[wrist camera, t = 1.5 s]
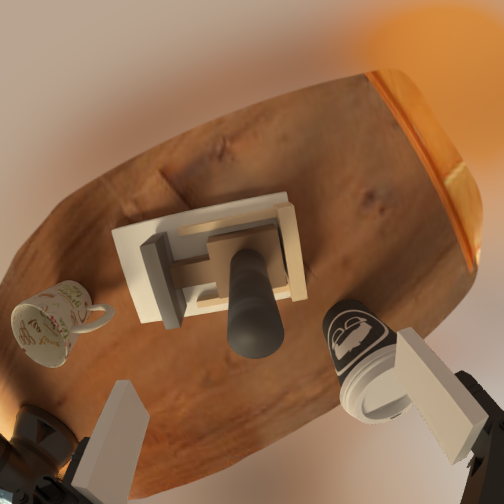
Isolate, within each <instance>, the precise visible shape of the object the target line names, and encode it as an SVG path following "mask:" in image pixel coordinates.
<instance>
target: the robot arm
mask: <svg viewBox="0 0 504 504" xmlns="http://www.w3.org/2000/svg"><path fill="white" fill-rule="evenodd" d="M394 374H395V376H396V377H397V379H398V380H399V382H400V383H401V385H402V386H403V388H404V390H405V391H406V393H407V394H408V396H409V397H410V399H411V400H412V402H413V403H414V405H415V407H416V408H417V410H418V411H419V413H420V414H421V416H422V418H423V419H424V421H425V422H426V424H427V425H428V427H429V429H430V430H431V432H432V434H433V435H434V437H435V438H436V440H437V442H438V443H439V445H440V447H441V448H442V450H443V452H444V453H445V455H446V457H447V458H448V460H449V462H450V463H451V465H453V464H455V463H457V462H459V461H461V460H462V459H464V458H466V457H467V455H468V454H469V452H470V450H472V452H473V453H474V456H473V457H472V459H471V460H470V462H469V463H468V466H467V468H469V467H470V465H471V467H470V471H469V475H468V479H467V483H466V486H465V490H464V493H463V496H462V500H461V503H460V504H504V411H503V410H502V409H501V408H500V407H499V406H498V405H497V404H496V402H495V401H494V400H493V399H492V398H491V397H490V396H489V394H488V393H487V392H486V391H485V390H483V388H482V386H481V385H480V384H478V382H477V381H476V380H475V379H474V378H473V377H472V376H471V375H470V374H468V373H466V372H464V371H462V370H461V371H459V372H457V373H455V374H453V373H452V371H451V370H450V369H449V368H448V367H447V366H446V365H445V364H444V362H443V361H442V360H441V359H440V358H439V357H438V356H437V355H436V354H435V352H434V351H433V350H432V349H431V348H430V347H429V346H428V345H427V344H426V343H425V341H424V340H423V339H422V338H421V337H420V336H419V335H418V334H417V333H416V332H415V331H414V330H413V329H412V328H411V327H409V328H406V329H403V330H400V331H398V332H397V346H396V357H395V366H394ZM149 419H150V416H149V414H148V412H147V411H146V409H145V407H144V405H143V404H142V402H141V400H140V398H139V396H138V395H137V393H136V391H135V389H134V387H133V385H132V383H131V382H130V380H117V381H116V383H115V385H114V387H113V389H112V391H111V393H110V396H109V398H108V400H107V402H106V404H105V406H104V408H103V411H102V413H101V415H100V417H99V419H98V422H97V424H96V426H95V428H94V431H93V433H92V435H91V437H84V438H83V439H82V440H81V442H80V443H79V444H78V442H77V440H76V438H75V436H74V435H73V434H72V433H71V431H70V430H69V429H68V428H67V427H66V426H65V425H64V424H62V423H61V422H60V421H59V420H58V419H56V418H55V417H53V416H52V415H51V414H49V413H47V412H46V411H44V410H42V409H40V408H37V407H35V406H31V405H24V406H22V407H21V409H20V410H19V412H18V413H17V415H16V422H15V426H14V431H13V436H12V438H11V440H10V441H7V440H6V438H5V437H4V436H3V435H2V434H1V433H0V502H1V503H2V504H127V500H128V496H129V492H130V488H131V484H132V480H133V477H134V473H135V469H136V465H137V461H138V458H139V454H140V450H141V447H142V443H143V439H144V436H145V432H146V429H147V425H148V422H149ZM70 459H72V461H70ZM69 461H70V464H69V466H68V468H67V471H66V473H65V475H64V478H63V480H62V482H59V481H58V480H57V479H56V477H57V475H58V473H59V470H60V469H61V468H62V467H63V466H65V465H66V464H67V463H68V462H69Z"/></svg>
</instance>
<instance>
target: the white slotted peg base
mask: <svg viewBox="0 0 504 504" xmlns="http://www.w3.org/2000/svg"><path fill="white" fill-rule="evenodd" d="M269 224H274V225H275V227H276V228H277V231H278V237H279V242H280V248H281V254H282V260H283V266H284V272H285V279H286V285H287V286H284V287H279V288H274V289H272V290H273V293H274V297H275V300H279V299H284V298H289V297H291V298H292V301H293V302H294V301H299V300H303V299H307V291H306V283H305V276H304V268H303V261H302V254H301V247H300V241H299V234H298V228H297V221H296V215H295V209H294V205H293V204H291V203H290V202H288V197H287V192H285V191H284V192H278V193H273V194H267V195H262V196H257V197H251V198H246V199H241V200H236V201H231V202H226V203H221V204H217V205H212V206H207V207H203V208H198V209H193V210H189V211H184V212H180V213H176V214H171V215H167V216H163V217H158V218H154V219H150V220H146V221H142V222H138V223H134V224H130V225H126V226H122V227H118V228H115V229H113V230H111V231H112V235H113V239H114V242H115V246H116V249H117V253H118V256H119V259H120V263H121V266H122V269H123V272H124V275H125V278H126V281H127V284H128V287H129V290H130V293H131V296H132V299H133V302H134V305H135V307H136V310H137V313H138V316H139V318H140V321H141V323H147V322H154V321H161V320H162V317H161V314H160V311H159V309H158V306H157V303H156V300H155V297H154V294H153V290H152V287H151V284H150V281H149V278H148V275H147V271H146V268H145V265H144V261H143V258H142V254H141V251H140V247H139V246H141V245H142V244H143V243H144V242H145V241H146V240H147V239H148V238H150V237H151V236H152V235H153V234H157V233H161V232H166V231H167V235H168V239H169V243H170V247H171V250H172V254H173V258H174V261H175V260H180V259H185V258H190V257H195V256H200V255H205V254H209V253H208V249H207V245H206V243H207V240H208V237H209V236H213V235H218V234H223V233H228V232H233V231H238V230H243V229H248V228H253V227H258V226H263V225H269ZM182 290H183V293H184V297H185V300H186V303H187V308H186V311H185V314H184V317H186V316H192V315H198V314H204V313H210V312H216V311H221V310H227V309H228V303H229V297H227V298H222V299H220V298H219V294H218V290H217V286H216V282H213V283H208V284H202V285H197V286H192V287H186V288H182Z"/></svg>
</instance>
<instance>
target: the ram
mask: <svg viewBox="0 0 504 504" xmlns="http://www.w3.org/2000/svg"><path fill="white" fill-rule="evenodd" d="M206 245H207V249H208V253H209V254H205V255H200V256H195V257H190V258H185V259H180V260H175V261H174V258H173V254H172V250H171V247H170V243H169V239H168V235H167V231H166V232H161V233H157V234H153V235H152V236H151V237H150V238H148V239H147V240H146V241H145V242H144V243H143V244H142V245H141V246H139V247H140V251H141V254H142V258H143V261H144V265H145V268H146V271H147V275H148V278H149V281H150V284H151V287H152V290H153V294H154V297H155V300H156V303H157V306H158V309H159V311H160V314H161V317H162V320H163V323H164V326H165V328H166V330H167V329H174V328H180V327H181V324H182V321H183V318H184V314H185V311H186V308H187V303H186V300H185V297H184V293H183V290H182V288H186V287H192V286H197V285H202V284H208V283H213V282H216V286H217V290H218V294H219V298H220V299H222V298H227V297H229V303H228V326H227V339H228V343H229V345H230V347H231V348H232V349H233V351H234V352H236V353H237V354H239V355H240V356H243V357H246V358H251V359H258V358H264V357H267V356H269V355H271V354H273V353H274V352H275V351H277V350H278V348H279V347H280V346H281V344H282V342H283V340H284V328H283V325H282V321H281V318H280V314H279V311H278V307H277V304H276V300H275V297H274V293H273V290H272V289H274V288H279V287H284V286H287V285H286V279H285V272H284V266H283V260H282V254H281V248H280V242H279V237H278V231H277V228H276V227H275V225H274V224H269V225H263V226H258V227H253V228H248V229H243V230H238V231H233V232H228V233H223V234H218V235H213V236H209V237H208V240H207V243H206Z"/></svg>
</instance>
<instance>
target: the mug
mask: <svg viewBox="0 0 504 504" xmlns="http://www.w3.org/2000/svg"><path fill="white" fill-rule="evenodd" d="M92 310H104V311H105V314H104V315H103V316H102V317H101V318H99V319H97V320H96V321H94V322H91V323H89V324H86V322H87V320H88V318H89V316H90V314H91V312H92ZM114 314H115V309H114V307H113V306H111V305H108V304H104V303H101V304H96V305H92V301H91V298H90V295H89V293H88V292H87V290H86V289H85V288H84V287H83V286H82V285H81V284H79V283H78V282H75V281H72V280H66V281H63V282H61V283H58V284H56V285H54V286H52V287H50V288H48V289H46V290H44V291H42V292H40V293H38V294H36V295H34V296H32V297H30V298H29V299H27V300H25V301H23V302H21V303H19V304H18V305H17V306H16V307H15V308H14V310H13V312H12V315H11V325H12V330H13V333H14V336H15V338H16V340H17V342H18V344H19V345H20V347H21V348H22V349H23V351H24V352H25V353H26V354H27V355H28V356H29V357H30V358H31V359H33V360H34V361H35V362H37V363H39V364H41V365H43V366H46V367H51V368H55V367H59V366H61V365H62V364H64V362H65V361H66V360H67V358H68V356H69V354H70V352H71V350H72V348H73V346H74V344H75V342H76V340H77V339H78V337H79V335H80V333H85V332H90V331H93V330H95V329H97V328H99V327H101V326H103V325H105V324H106V323H107V322H109V321H110V320H111V319H112V318H113V316H114Z"/></svg>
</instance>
